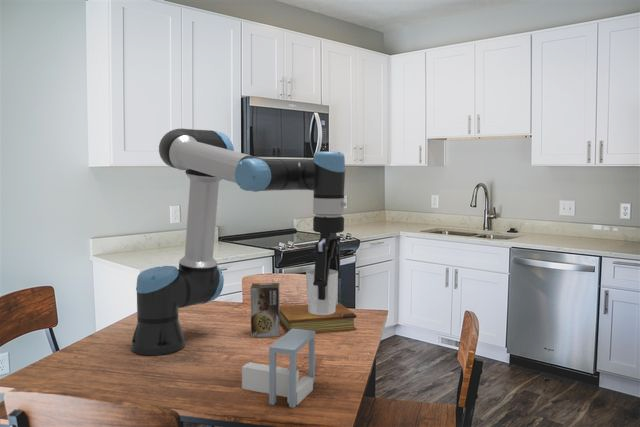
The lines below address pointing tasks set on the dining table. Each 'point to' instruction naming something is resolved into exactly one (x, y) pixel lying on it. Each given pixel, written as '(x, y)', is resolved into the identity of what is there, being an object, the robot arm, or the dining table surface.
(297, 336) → the bridge
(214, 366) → the dining table surface
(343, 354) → the dining table surface
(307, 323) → the diary
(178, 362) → the dining table surface
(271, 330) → the food box
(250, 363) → the white l-shaped block
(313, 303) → the white cup
